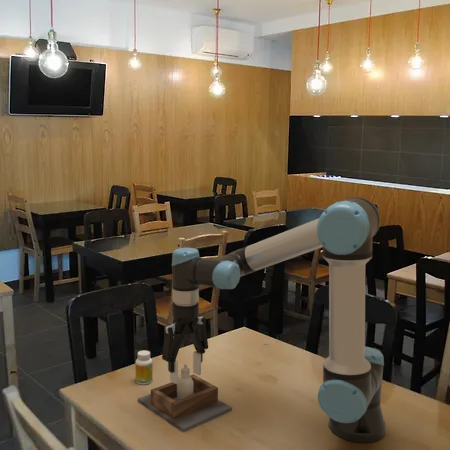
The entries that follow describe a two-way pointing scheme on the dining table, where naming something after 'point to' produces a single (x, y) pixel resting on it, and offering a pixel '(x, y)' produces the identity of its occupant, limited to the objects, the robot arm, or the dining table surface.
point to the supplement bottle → (143, 368)
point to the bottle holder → (186, 404)
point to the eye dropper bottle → (184, 384)
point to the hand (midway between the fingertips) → (185, 377)
